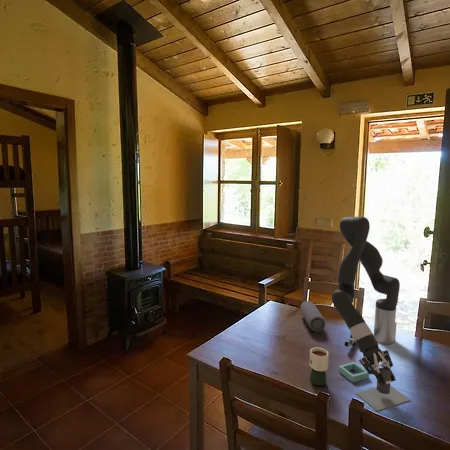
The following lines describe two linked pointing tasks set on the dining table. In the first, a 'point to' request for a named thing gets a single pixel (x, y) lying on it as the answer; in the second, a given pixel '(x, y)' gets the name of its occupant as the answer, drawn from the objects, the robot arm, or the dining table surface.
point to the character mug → (318, 365)
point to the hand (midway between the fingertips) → (388, 382)
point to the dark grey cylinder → (387, 377)
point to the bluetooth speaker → (312, 316)
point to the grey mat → (382, 398)
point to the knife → (350, 341)
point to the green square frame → (353, 378)
